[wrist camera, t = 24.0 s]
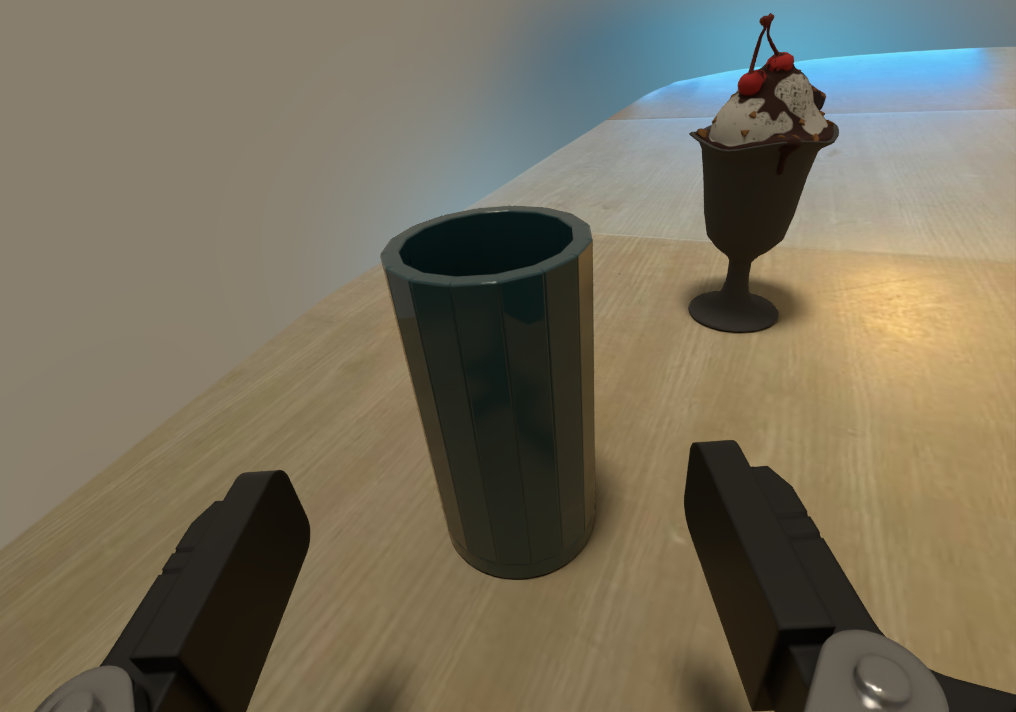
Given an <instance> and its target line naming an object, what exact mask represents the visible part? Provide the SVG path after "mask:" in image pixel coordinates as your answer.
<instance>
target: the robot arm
mask: <svg viewBox="0 0 1016 712" xmlns="http://www.w3.org/2000/svg"><path fill="white" fill-rule="evenodd" d="M684 508H685V516H686V521H687V525H688V529H689V532H690V535H691V538H692V540H693V543H694V546H695V549H696V552H697V555H698V558H699V560H700V563H701V566H702V569H703V572H704V575H705V578H706V580H707V583H708V586H709V589H710V592H711V595H712V598H713V600H714V603H715V606H716V609H717V612H718V615H719V618H720V621H721V623H722V626H723V629H724V632H725V635H726V638H727V641H728V643H729V646H730V649H731V652H732V655H733V658H734V661H735V663H736V666H737V669H738V672H739V675H740V678H741V681H742V683H743V686H744V689H745V692H746V695H747V698H748V701H749V703H750V706H751V709H752V711H775V712H1016V695H1015V694H1011V693H1007V692H1004V691H1000V690H996V689H992V688H988V687H985V686H981V685H977V684H973V683H969V682H966V681H962V680H958V679H954V678H951V677H948V676H945V675H942V674H940V673H937V672H935V671H933V670H931V669H929V668H927V667H926V666H925V665H924V664H923V662H922V661H921V660H920V659H918V658H917V657H916V656H915V655H914V654H913V653H911V652H910V651H909V650H907V649H906V648H904V647H903V646H901V645H900V644H898V643H896V642H895V641H893V640H891V639H889V638H887V637H885V635H884V634H883V633H882V632H881V631H880V630H879V628H878V627H877V625H876V624H875V623H874V621H873V620H872V618H871V616H870V615H869V613H868V611H867V610H866V608H865V606H864V605H863V603H862V601H861V600H860V598H859V596H858V595H857V593H856V591H855V590H854V588H853V587H852V585H851V583H850V582H849V580H848V578H847V577H846V575H845V573H844V572H843V570H842V568H841V567H840V565H839V563H838V562H837V560H836V558H835V557H834V555H833V553H832V552H831V550H830V548H829V547H828V545H827V543H826V542H825V540H824V538H821V537H820V532H819V530H818V529H817V527H816V525H815V524H814V522H813V520H812V519H811V517H808V515H807V510H806V509H805V507H804V505H803V504H802V502H801V500H800V499H799V497H798V495H797V494H796V492H795V490H794V489H793V487H792V486H791V485H790V484H789V483H787V482H786V481H785V480H784V479H783V478H781V477H780V476H779V475H778V474H777V473H775V472H774V471H773V470H772V469H771V468H769V467H768V466H760V467H750V465H749V463H748V461H747V459H746V458H745V456H744V454H743V452H742V450H741V448H740V446H739V445H738V444H737V442H736V441H734V440H724V441H710V442H696V443H692V445H691V448H690V454H689V462H688V470H687V478H686V486H685V495H684ZM309 543H310V525H309V521H308V518H307V516H306V514H305V511H304V509H303V507H302V505H301V503H300V501H299V498H298V496H297V494H296V492H295V490H294V488H293V485H292V483H291V481H290V479H289V477H288V475H287V474H286V473H285V472H284V471H282V470H275V471H261V472H246V473H242V474H241V475H239V476H238V477H237V479H236V480H235V482H234V483H233V485H232V486H231V488H230V490H229V491H228V493H227V495H226V496H225V498H224V500H223V501H215V502H214V503H213V504H212V505H211V506H210V507H209V508H208V509H206V510H205V511H204V512H203V513H202V514H201V515H200V516H199V517H198V518H197V519H196V520H195V521H194V522H193V523H191V525H190V527H189V528H188V530H187V531H186V533H185V534H184V536H183V538H182V539H181V541H180V542H179V544H178V545H177V547H176V552H175V553H174V554H172V555H171V556H170V558H169V560H168V561H167V563H166V564H165V566H164V567H163V569H162V570H163V573H162V575H158V577H157V578H156V580H155V582H154V583H153V585H152V586H151V588H150V589H149V591H148V593H147V594H146V596H145V597H144V599H143V600H142V602H141V604H140V605H139V607H138V608H137V610H136V611H135V613H134V615H133V616H132V618H131V619H130V621H129V622H128V624H127V626H126V627H125V629H124V630H123V632H122V633H121V635H120V637H119V638H118V640H117V641H116V643H115V644H114V646H113V648H112V649H111V651H110V652H109V654H108V655H107V657H106V658H105V660H104V661H103V662H102V664H101V665H100V666H99V667H96V668H93V669H90V670H87V671H85V672H83V673H81V674H79V675H77V676H75V677H73V678H72V679H70V680H69V681H67V682H65V683H64V684H63V685H61V686H60V687H59V688H58V689H56V690H55V691H54V692H53V693H52V694H51V695H49V696H48V697H47V698H46V699H45V700H44V701H43V702H42V703H41V704H40V706H39V707H38V708H37V709H36V710H35V712H246V710H247V708H248V705H249V703H250V700H251V697H252V695H253V692H254V690H255V687H256V684H257V682H258V679H259V676H260V674H261V671H262V669H263V666H264V663H265V661H266V658H267V656H268V653H269V650H270V648H271V645H272V643H273V640H274V637H275V635H276V632H277V630H278V627H279V624H280V622H281V619H282V617H283V614H284V611H285V609H286V606H287V604H288V601H289V598H290V596H291V593H292V590H293V588H294V585H295V583H296V580H297V577H298V575H299V572H300V570H301V567H302V564H303V562H304V559H305V557H306V554H307V551H308V548H309Z"/></svg>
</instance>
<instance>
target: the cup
mask: <svg viewBox="0 0 1016 712" xmlns="http://www.w3.org/2000/svg"><path fill="white" fill-rule="evenodd" d="M380 257H381V262H382V266H383V270H384V274H385V278H386V282H387V286H388V290H389V294H390V298H391V302H392V306H393V310H394V314H395V318H396V322H397V326H398V330H399V334H400V339H401V343H402V347H403V351H404V355H405V359H406V363H407V367H408V371H409V375H410V379H411V383H412V387H413V391H414V395H415V399H416V403H417V407H418V411H419V415H420V420H421V424H422V428H423V432H424V436H425V440H426V444H427V448H428V452H429V456H430V460H431V464H432V468H433V472H434V476H435V480H436V484H437V488H438V492H439V496H440V501H441V505H442V509H443V513H444V516H445V519H446V523H447V527H448V531H449V535H450V538H451V541H452V543H453V545H454V547H455V548H456V550H457V552H458V553H459V554H460V555H461V556H462V558H464V559H465V560H466V561H467V562H468V563H469V564H471V565H472V566H474V567H475V568H477V569H479V570H481V571H483V572H485V573H488V574H491V575H494V576H498V577H503V578H513V579H521V578H531V577H536V576H540V575H544V574H547V573H550V572H552V571H554V570H556V569H559V568H560V567H562V566H563V565H565V564H567V563H568V562H569V561H571V560H572V559H573V558H574V557H575V556H576V555H577V554H578V553H579V552H580V551H581V550H582V548H583V547H584V546H585V544H586V543H587V541H588V539H589V537H590V535H591V532H592V529H593V525H594V510H595V430H594V326H593V239H592V234H591V229H590V226H589V225H588V224H587V223H586V222H584V221H583V220H581V219H579V218H578V217H576V216H575V215H573V214H571V213H567V212H563V211H558V210H554V209H550V208H543V207H526V206H502V207H489V208H478V209H472V210H467V211H462V212H457V213H452V214H447V215H444V216H440V217H437V218H434V219H432V220H429V221H426V222H423V223H420V224H417V225H415V226H412V227H411V228H409V229H407V230H406V231H404V232H402V233H400V234H399V235H397V236H395V237H394V238H392V239H391V240H390V241H389V243H388V244H387V246H386V247H385V248H384V250H383V251H382V253H381V256H380Z"/></svg>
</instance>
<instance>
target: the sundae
mask: <svg viewBox="0 0 1016 712" xmlns="http://www.w3.org/2000/svg"><path fill="white" fill-rule="evenodd" d="M773 19H774V15H773V14H771V13H770V14H769V15H768V16H763V17H762V18H761V19H760V23H761V25H762V26H763V27H764V28H763V30H762V32H761V34H760V36H759V39H758V42H757V45H756V48H755V51H754V55H753V59H752V62H751V66H750V69H749V72H748V73H746V74H744V75H743V76H742V77H741V78H740V80H739V82H738V90H737V92H736V93H735V94H733V95H732V96H731V98H730V100H729V101H728V102H727V103H726V104H725V105H724V106H723V107H722V108H721V110H720V111H719V112H718V113H717V115H716V117H715V118H714V120H713V121H712V125H711V126H708V127H706V128H704V129H698V130H697V132H690V133H689V134H690V135H691V136H692V137H693V138H694V139H696V140H697V141H698V142H699V143H700V146H701V148H702V162H703V180H704V215H705V223H706V231H707V236H708V237H709V238H710V240H711V241H712V242H713V244H714V245H715V246H716V247H717V248H718V249H719V250H720V251H721V252H723V253H724V254H725V255H727V256H728V259H729V266H728V273H727V277H726V281H725V283H724V286H723V288H722V289H721V290H720V291H713V292H708V293H705V294H701V295H699V296H697V297H696V298H694V299H693V300H692V301H691V303H690V305H689V311H690V314H691V315H692V317H693V318H695V319H696V320H697V321H698V322H700V323H702V324H703V325H706V326H708V327H711V328H714V329H718V330H723V331H730V332H751V331H757V330H761V329H764V328H767V327H769V326H770V325H772V324H773V323H775V322H776V321H777V319H778V316H779V315H778V310H777V309H776V307H775V306H774V305H773V304H772V303H771V302H770V301H768V300H767V299H765V298H763V297H761V296H758V295H755V294H751V293H750V292H749V287H748V281H749V273H750V267H751V262H752V261H754V260H755V259H756V258H757V257H758V256H760V255H762V254H764V253H766V252H768V251H769V250H771V249H772V248H773V247H774V246H776V245H777V244H778V243H779V242H781V241H782V240H783V239H784V236H785V234H786V232H787V230H788V228H789V225H790V223H791V221H792V219H793V216H794V214H795V211H796V208H797V205H798V202H799V199H800V196H801V193H802V190H803V188H804V185H805V182H806V179H807V176H808V174H809V172H810V169H811V167H812V165H813V162H814V160H815V158H816V155H817V153H818V151H819V150H820V149H821V148H824V147H826V146H828V145H830V144H832V143H834V142H835V140H836V139H837V137H838V136H839V129H838V126H837V125H836V124H834V123H833V122H831V121H829V120H826V119H825V118H824V115H825V113H823V112H822V111H820V110H821V109H822V107H823V104H824V102H825V99H826V95H825V93H823V92H821V91H820V90H818V89H817V88H815V87H814V86H812V85H811V84H810V82H809V80H808V78H807V77H806V76H805V75H804V73H802V72H801V70H798V69H796V68H795V66H794V64H793V63H794V57H793V56H792V55H790V54H789V53H786V52H778V50H777V49H776V47H775V45H774V43H773V42H772V39H771V37H770V35H769V30H770V25H771V22H772V20H773ZM766 28H767V38H768V41H769V43H770V46H771V48H772V50H773V51H774V55H773V56H772V57H770V58H769V59H768V61H767V63H766V64H765V65H764V66H763V67H762V68H760V69H758V70H754V66H755V62H756V58H757V55H758V51H759V47H760V44H761V39H762V36H763V34H764V32H765V30H766Z"/></svg>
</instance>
